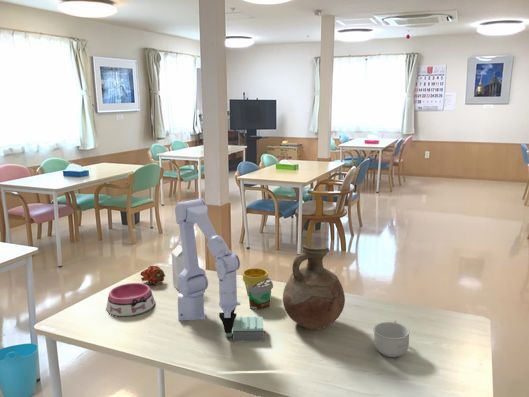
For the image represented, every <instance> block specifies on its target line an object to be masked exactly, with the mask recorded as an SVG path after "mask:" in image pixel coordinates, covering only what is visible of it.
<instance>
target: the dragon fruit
mask: <svg viewBox="0 0 529 397" xmlns="http://www.w3.org/2000/svg"><path fill="white" fill-rule="evenodd" d="M140 276H141V279H140V280H141V281H142V282H147V284H148V286H150V285H152V284H153V285H159V284H160V283H162V282H164V281H165V277H166V274H165V272H164V270H163V269H161V267H159V266H158V265H149V266H148V268H147V269H144V270H142V271H141V272H140Z"/></svg>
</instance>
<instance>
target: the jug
mask: <svg viewBox="0 0 529 397" xmlns="http://www.w3.org/2000/svg"><path fill="white" fill-rule="evenodd" d="M301 251H302V253H299V254H297V255H296V257H295V258H294V260H293V263H292V268H291V269H292V274H291V275H290V276H289V278H288V280H287V281H286V284H285V286H284V287H283V288H284V289H283V292H282V305H283V307H284V310H285V312H286V314H287V316H288V317H289V318H290V319H291V320H292V322H294V323H296V324H298V325H300V327H301V328H303V329H305V330H311V331H319V330H320V329H324V328H326V327H329V326H330V325H332V324H333V323H334V322H335V321H337V319H338V318H339V317H340V316H341V314H342V312H344V311H343V310H344V308H345V301H346V297H345V292H344V288H343V285H342V282H341V281H340V280H339V277H338V276H337V275H336V273H334V272H332V271H330V270H328V269H327V268H325V267H324V263H323V259H324V258H325V257H326V256H327V254H328V253H329V252H330V249H329V247H328V246H327V247H325V248H316V247H310V246H309V245H304V244H302V245H301ZM306 260H307V262H306V263H307V264H306V266H305V267H301V264H302V263H303V262H304V261H306Z"/></svg>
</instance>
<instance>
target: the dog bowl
mask: <svg viewBox="0 0 529 397" xmlns="http://www.w3.org/2000/svg"><path fill="white" fill-rule="evenodd" d="M155 306H156V301H155V298H154V295H153V291H152V289H151V287H150V285H149V284H148V285H147V284H145V283H140V282H129V283H124V284H121V285H117V286H115V287H113V288H112V289H110V291H109V292H108V296H107V303H106V307H105V311H107V312H108V313H109V314H108V313H107V312H106V313H107V314H108V315H110V314H111V315H110V316H112V315H113V317H115V316H117V318H130V317H137V316H141V315H144V314H146V313H149V312H150V311H152V310H153V309H154V308H155Z"/></svg>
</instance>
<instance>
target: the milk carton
mask: <svg viewBox="0 0 529 397" xmlns="http://www.w3.org/2000/svg"><path fill="white" fill-rule="evenodd" d="M171 266H172V284H173V286H174V287H175V289H176V290H177V291H179V288H178V283H179V274H180V273H181V272H182V271H183V270H184V260H183V252H182V245H181V241H178V245H177V246H176V247H175V248H174V249H173V250H172V251H171Z"/></svg>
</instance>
